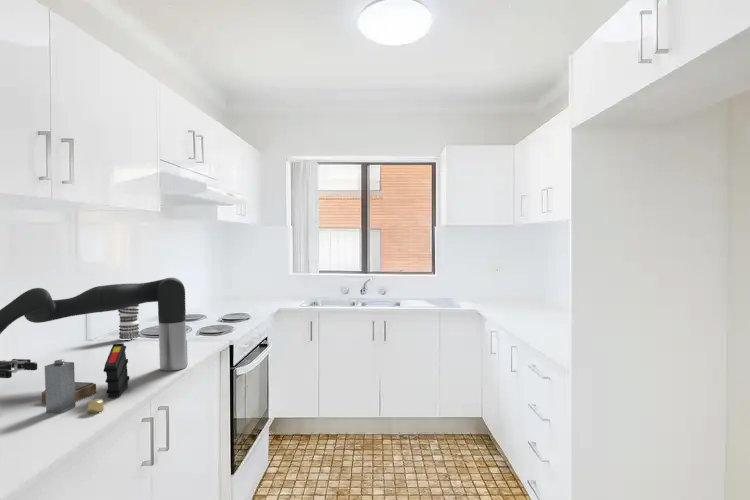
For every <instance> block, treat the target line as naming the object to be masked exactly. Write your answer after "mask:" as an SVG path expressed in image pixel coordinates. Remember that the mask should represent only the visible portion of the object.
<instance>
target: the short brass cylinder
mask: <svg viewBox="0 0 750 500" xmlns="http://www.w3.org/2000/svg"><path fill="white" fill-rule="evenodd" d="M104 407H105V406H104V399H103V398H95V399H90V400H88V401H86V414H87V413H88V415H96V414H95V413H98V414H100V413H99V412H101V413H102V411H103V410H104V411H105V409H104ZM104 411H103V412H104Z"/></svg>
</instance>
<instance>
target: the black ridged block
mask: <svg viewBox="0 0 750 500" xmlns="http://www.w3.org/2000/svg"><path fill="white" fill-rule="evenodd" d="M126 349H127V345H125V344H124V343H112V346H111V348H110V351H109V354H108V356H107V358H106V361H105V362H104V363H105V364H104V368H103V373H106V374H105V375H106V379H105V381H104V382H105V383H106V384H107V390H106V391H105V395H107V398H108V399H115V398H120V396H121V395H122V394H123V393H124V392H125V391H126V390H127V389H128V388H129V380H130V375H128V363H129V360H128V358H127V354H126Z"/></svg>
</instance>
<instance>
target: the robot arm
mask: <svg viewBox="0 0 750 500" xmlns="http://www.w3.org/2000/svg"><path fill="white" fill-rule="evenodd" d="M185 288H186V287H185V285H184V283H183V281H181V280H180V279H178V278H176V277H167V278H163V279H159V280H154V281H153V280H152V281H148V282H141V283H135V282H134V283H116V284H115V283H114V284H107V285H105V284H104V285H98V286H94V287H92V288H89V289H87V290H85V291H83V292H81V293H79V294H77V295H75V296H73V297H69V298H68V297H67V298H62V299H53V298H52V296H51V293H50V292H49V291H48V290H47V289H45V288H42V287H35V288H34V287H33V288H31V289H28V290H26V291H25V292H22V293H21V294H20V295H18V296H17V297H16V298H14V299H13V300H12V301H11V302H9V303H7V304H6V305H5V306H4V307H2V308H1V309H0V335H1V334H2V333H3V332H4V331H5V330H6V329H7V328H8V327H9V326H10V325H11V324H13V322H15V321H17V320H18V319H20V318H22V317H24V318H25V319H26V320H27V321H28V322H30V323H34V324H35V323H36V324H39V323H46V322H51V321H56V320H61V319H64V318H65V319H66V318H68V317H74V316H81V315H88V314H94V313H103V312H104V313H105V312H111V311H112V312H113V311H118V310H119V309H124V308H128V307H131V306H135V305H140V304H146V303H156V302H157V313H158V314H157V315H158V342H159V343H158V347H159V349H158V350H159V370H160V371H164V372H166V371H167V372H168V371H169V372H170V371H178V370H184V369H185V368H187V367H188V363H189V362H188V361H189V360H188V340H187V329H186V328H187V327H186V325H187V324H186V313H187V312H186V289H185ZM36 370H38V362H35V361H31V359H28V358H26V359H24V358H23V359H22V358H13V359H11V360H5V359H3V360H0V379H11V378H12V377H13V376H12V375H13V374H16V373H17V372H18V371H36ZM12 373H13V374H12Z"/></svg>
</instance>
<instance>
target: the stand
mask: <svg viewBox="0 0 750 500" xmlns="http://www.w3.org/2000/svg"><path fill="white" fill-rule="evenodd" d="M92 394H93V395H95V394H97V383H94V382H88V381H85V382H82V381H75V403H76V401H77V402H79V401H82V400H84V399H86V398H88V397H90V395H91V396H92ZM87 396H88V397H87ZM85 397H86V398H85ZM83 398H84V399H83ZM78 400H79V401H78ZM41 403H46V392H45V390H44V391H42V392H41Z"/></svg>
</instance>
